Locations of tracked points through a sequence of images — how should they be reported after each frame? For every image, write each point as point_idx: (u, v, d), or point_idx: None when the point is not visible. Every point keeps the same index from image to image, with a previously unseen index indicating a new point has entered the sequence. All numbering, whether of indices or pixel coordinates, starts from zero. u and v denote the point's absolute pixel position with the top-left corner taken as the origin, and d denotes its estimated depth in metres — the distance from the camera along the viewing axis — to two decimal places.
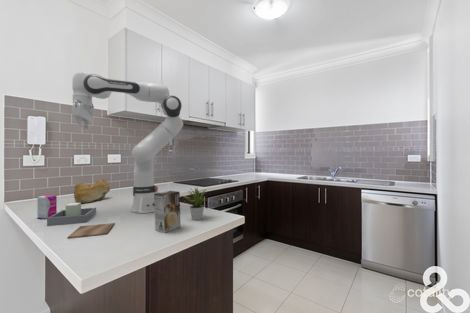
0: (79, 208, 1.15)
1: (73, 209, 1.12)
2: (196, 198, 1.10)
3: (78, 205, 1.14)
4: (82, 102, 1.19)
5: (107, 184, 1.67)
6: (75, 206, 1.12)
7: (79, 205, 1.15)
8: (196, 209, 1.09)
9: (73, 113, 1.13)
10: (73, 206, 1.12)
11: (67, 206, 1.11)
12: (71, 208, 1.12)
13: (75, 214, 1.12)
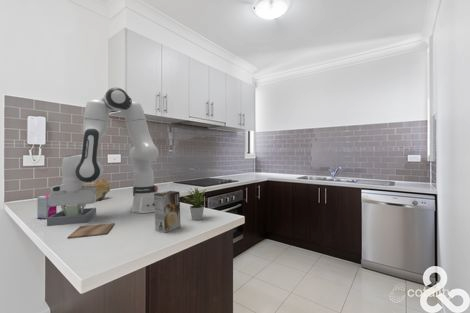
0: (79, 208, 1.15)
1: (73, 209, 1.12)
2: (196, 198, 1.10)
3: (78, 205, 1.14)
4: None
5: (107, 184, 1.67)
6: (75, 206, 1.12)
7: (79, 205, 1.15)
8: (196, 209, 1.09)
9: (94, 200, 1.16)
10: (73, 206, 1.12)
11: (67, 206, 1.11)
12: (71, 208, 1.12)
13: (75, 214, 1.12)
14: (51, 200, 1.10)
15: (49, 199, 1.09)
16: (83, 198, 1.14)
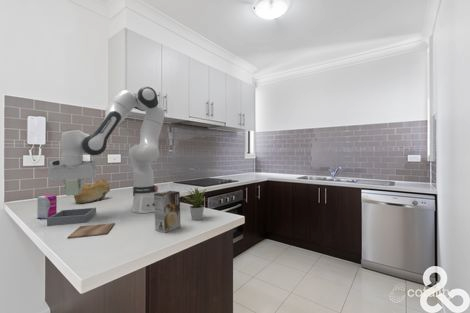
0: (79, 183, 1.15)
1: (74, 184, 1.12)
2: (196, 198, 1.10)
3: (78, 180, 1.14)
4: None
5: (107, 184, 1.67)
6: (75, 181, 1.12)
7: (79, 180, 1.15)
8: (196, 209, 1.09)
9: (94, 175, 1.16)
10: (73, 180, 1.12)
11: (67, 180, 1.11)
12: (72, 182, 1.12)
13: (75, 189, 1.12)
14: (51, 174, 1.10)
15: (49, 173, 1.09)
16: (83, 173, 1.14)
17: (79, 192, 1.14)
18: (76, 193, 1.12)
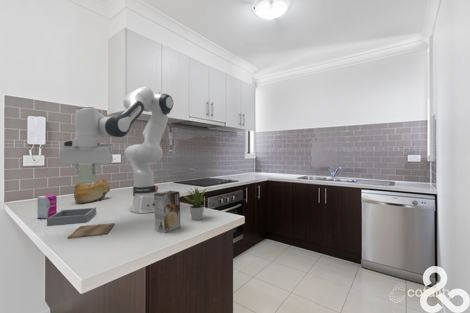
0: (93, 168, 1.01)
1: (87, 168, 0.97)
2: (196, 198, 1.10)
3: (92, 164, 0.99)
4: None
5: (107, 184, 1.67)
6: (89, 165, 0.98)
7: (93, 165, 1.01)
8: (196, 209, 1.09)
9: (111, 159, 1.01)
10: (87, 165, 0.97)
11: (80, 164, 0.97)
12: (85, 167, 0.97)
13: (89, 174, 0.98)
14: (62, 157, 0.95)
15: (60, 155, 0.95)
16: (98, 157, 0.99)
17: (93, 179, 1.00)
18: (90, 179, 0.98)
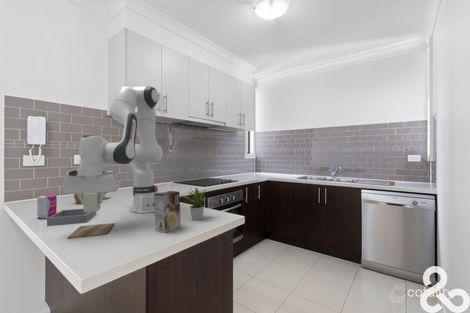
0: (99, 197, 0.97)
1: (93, 198, 0.94)
2: (196, 198, 1.10)
3: (98, 193, 0.96)
4: None
5: None
6: (94, 194, 0.94)
7: (99, 194, 0.97)
8: (196, 209, 1.09)
9: (117, 188, 0.98)
10: (92, 194, 0.94)
11: (85, 194, 0.93)
12: (90, 197, 0.94)
13: (94, 204, 0.94)
14: (67, 186, 0.92)
15: (64, 185, 0.91)
16: (103, 186, 0.96)
17: (98, 208, 0.97)
18: (95, 209, 0.94)
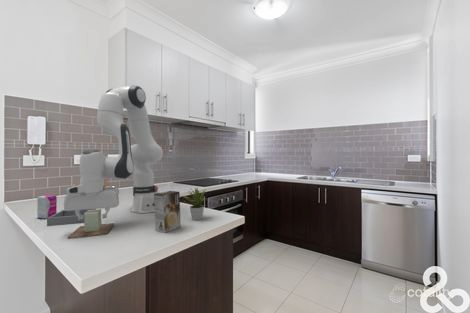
0: (99, 216, 0.98)
1: (93, 217, 0.95)
2: (196, 198, 1.10)
3: (98, 212, 0.97)
4: None
5: (107, 184, 1.67)
6: (95, 214, 0.95)
7: (99, 212, 0.98)
8: (196, 209, 1.09)
9: (117, 203, 0.98)
10: (93, 214, 0.94)
11: (86, 214, 0.94)
12: (91, 216, 0.94)
13: (95, 223, 0.95)
14: (67, 203, 0.92)
15: (65, 202, 0.92)
16: (104, 201, 0.96)
17: (99, 227, 0.97)
18: (96, 229, 0.95)
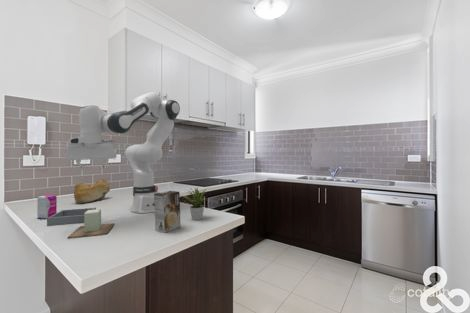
0: (99, 216, 0.98)
1: (93, 217, 0.95)
2: (196, 198, 1.10)
3: (98, 212, 0.97)
4: None
5: (107, 184, 1.67)
6: (95, 214, 0.95)
7: (99, 212, 0.98)
8: (196, 209, 1.09)
9: (115, 155, 1.08)
10: (93, 214, 0.94)
11: (86, 214, 0.94)
12: (91, 216, 0.94)
13: (95, 223, 0.95)
14: (69, 153, 1.01)
15: (67, 152, 1.01)
16: (103, 153, 1.06)
17: (99, 227, 0.97)
18: (96, 229, 0.95)
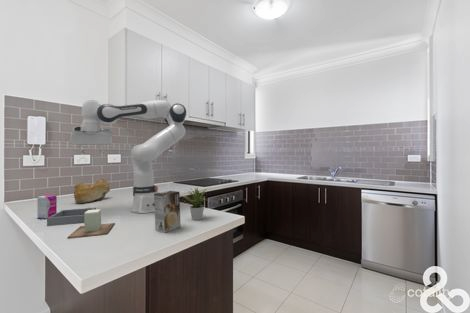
0: (99, 216, 0.98)
1: (93, 217, 0.95)
2: (196, 198, 1.10)
3: (98, 212, 0.97)
4: None
5: (107, 184, 1.67)
6: (95, 214, 0.95)
7: (99, 212, 0.98)
8: (196, 209, 1.09)
9: (110, 142, 1.30)
10: (93, 214, 0.94)
11: (86, 214, 0.94)
12: (91, 216, 0.94)
13: (95, 223, 0.95)
14: (73, 139, 1.24)
15: (71, 138, 1.24)
16: (100, 139, 1.28)
17: (99, 227, 0.97)
18: (96, 229, 0.95)
